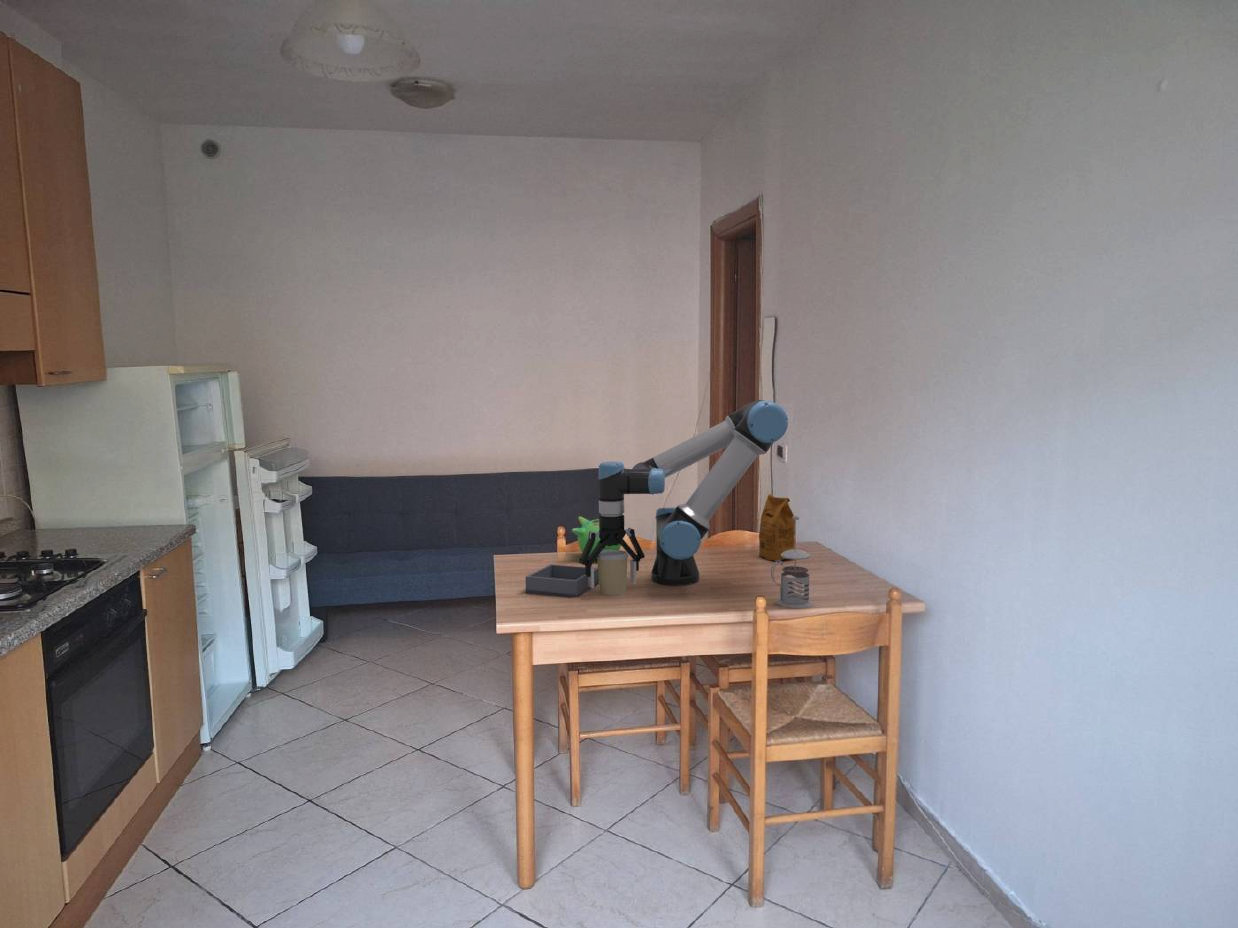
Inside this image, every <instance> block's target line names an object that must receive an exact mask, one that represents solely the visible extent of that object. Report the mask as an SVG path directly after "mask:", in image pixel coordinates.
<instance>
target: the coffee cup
mask: <svg viewBox="0 0 1238 928" xmlns="http://www.w3.org/2000/svg"><path fill="white" fill-rule="evenodd" d="M628 558H629V554H628V553H627V552H626V550H622V549H619V550H604V551H601V552H600V554H599V555H598V556H597V559H596V561H597V568H598V576H599V584H598V585H599V593H600V594H601V595H603V596H609V597H610V596H611V597H615V596H621V595H625V594H626V591H627V579H628V578H627V576H628V574H627V573H628Z"/></svg>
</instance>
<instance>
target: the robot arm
mask: <svg viewBox="0 0 1238 928" xmlns="http://www.w3.org/2000/svg"><path fill="white" fill-rule="evenodd" d="M788 426H789V419H788V414H787V413H786V411H785V409H783V407H782V406H781V405H779V404H778V403H776V402H775V401H771V400H764V399H756V400H753V401H750V402H748V403H747V404H745V405H743V406H742V407H741V408H739V409H737V410H736V411H734V412H732V413H730V414H729V415H726V417H725V420H724V421H722V422H720V423H718V424H716V425H714V426H712V427H710V428H708V429H706V430H704V431H702V432H700V433H699V434H696V435H694V436H692V437H690V438H688V439H686V440H684V441H682V442H680V443H678V444H677V445H675V446H672V447H671V448H669V449H667V450H665V451H663V452H661V453H659V454H656V455H655V456H653V457H651V458H649V459H647V460H645V461H642V462H637V463H636V464H635V465H633V467H632V468H625V466H624V462H622V461H603V462H601V463H599V465H598V476H597V477H598V478H597V480H598V486H597V487H598V513H599V514H600V515H599V516H598V519H599V532H598V533H596V532H589V538H588V541H587V543H586V546H585V548H584V550H583V552H581V555H580V557H579V559H578V563H579V564H581V565H582V566H584V567H585V575H586V576H587V577H588V586H589V587H590V588H592V589H595V587H594V568H595V567H594V565H593V563H594V562H595V561H596V560H597V559H596V558H597V556H598V555H599V554H600V552H601V551H602V550H603V548H605V547H606V545H607V546H612V545H615V546H616V545H619V544H620V545H621V547H622V548H623V550H624V551H626V552H627V554H628V556H630V557H631V559H630V560H629V561H630V562H629V564H630V565H629V566H630V568H629V569H630V571H629V573H630V574H629V576H630V579H629V581H630V582H631V583H633V584H636V583H637V572H639V570H640V569H639V568H640V562H641V560H642V559H644V558H645V557H646V555H645V553H644V551H643V549H642V547H641V545H640V544H639V541H638V539H637V537H636V532H635V531H636V530H635V529H633V528H632V527H628V528H627V529H625V515H624V514H625V495H655V494H656V495H658V494H659V495H660V494H664V492H665V488H666V487H665V486H666V484H665V481H666V478H669V477H670V476H672V475H674V474H676V473H678V472H680V471H682V470H685V469H686V468H689V467H690V466H692V465H694V464H696V463H699V462H700V461H702V460H704V459H706V458H709V457H710V456H712V455H714V454H716V453H718V452H720V451H722V450H724V449H725V450H724V451H723V452H722V454H721V455H720V456H719V457H718V459H717V461H715V463H714V464H713V466H711V469H710V470H709V471H708V472H707V474H706V475H705V476H704V478H703V479H702V481H701V482H700V483H699V484H698V486H697V488H696V489H695V490H694V491H693V493H692V494H691V496H690V497H689V498H688V499H687V501H686V502H685V503H682V504H677V506H675V507H674V506H671V507H660V508H657V509H656V512H655V520H656V523H655V525H656V526H655V527H656V528H655V529H656V531H655V532H656V534H655V535H656V536H655V537H656V540H655V541H656V554H655V555H656V556H655V559H654V562H653V566H652V569H651V573H650V576H651V577H650V579H651V581H652V582H654V583H656V584H659V585H666V586H686V585H691V584H696V583H697V582H699V581H700V571H699V568H698V564H697V562H696V560H695V559H696V558H695V554H697V552H698V551H699V550H700V549H699V548H700V547H701V543H702V540H703V538H704V537H705V536H706V534H707V533H708V531H709V530H710V529H711V526H710V521H711V519H712V518H713V516H714V515H715V514H716V512H717V511H718V509H719V508H720V507H721V505H722V504H723V502H725V500H726V498H728V496H729V495H730V493H731V492H732V491H733V489H734V488H735V487H736V485H737V484H738V483H739V481H740V480H741V478H742V477H743V476H744V474H745V473H746V472H747V471H748V469H749V468H750V466H751V465H752V464H753V462H754V461H755V460H756V458H757V457H758V456H761V455H765V454H767V453H768V451H769V450H770V448H771V447H772V446H773V444H774V443H776V442H777V441H779V440H780V439H782V438H783V437H784V435H785V434H786V432H787V429H788ZM625 536H627V537H628V539H629V541H630V543H631V545H632V546H633V548H634V550H635V552H634V550H633V549H632V548H631V547H630V545H628V543H627V542H626V541H625V539H624V538H625ZM597 537H599V538H600V541H599V542H598V543H597V546H596V547H595V549H594V550H593V551H592V553H591V554H590V552H591V550H592V547H593V545H594V543H595V540H596V539H597ZM589 554H590V555H589ZM588 556H589V557H588Z"/></svg>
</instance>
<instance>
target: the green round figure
mask: <svg viewBox="0 0 1238 928" xmlns="http://www.w3.org/2000/svg"><path fill="white" fill-rule="evenodd" d="M578 521H579V522H580V525H581V527H575V528H572V529H571V532H572V533H573V534H574V535H576V536H577V544H578V547H579V550H580V551H581V553H583V550H584V548H585V546H586V543H587V541H588V538H589V532H596V533H598V532H599V518H594V519H592V520H590V519H586V517H585V518H584V517H583V516H578ZM599 541H600V538H599V537H597V539H596V540H595V543H594V545H593V547H592V550H591V552H590V554H591V553H592V551H593V550H594V549H595V547H596V546H597V543H598V542H599ZM621 547H622V546H621V545H620V544H619V545H616V546H615V545H612V546H607V545H606V547H605V548H603V550H602V551H604V550H621ZM590 554H589V555H590ZM588 557H589V556H588ZM595 560H597V558H596V559H595Z"/></svg>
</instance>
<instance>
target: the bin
mask: <svg viewBox="0 0 1238 928" xmlns="http://www.w3.org/2000/svg"><path fill="white" fill-rule="evenodd" d="M598 585H599V576H598V567H594V588H595V587H596V586H598ZM591 589H593V588H590V587H589V586H588V577H587V576H586V575H585V566H576V565H565V564H554V563H553V564H549V565H547V566H544V567H541V569H538V570H536V571H534V572H532V573H530V574H528V575H526V576H525V593H526V594H533V595H542V596H543V595H544V596H550V597H551V596H553V597H563V598H571V597H577V598H579V597H580V596H582V595H584V594H585V593H586V592H588V591H590V590H591Z"/></svg>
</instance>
